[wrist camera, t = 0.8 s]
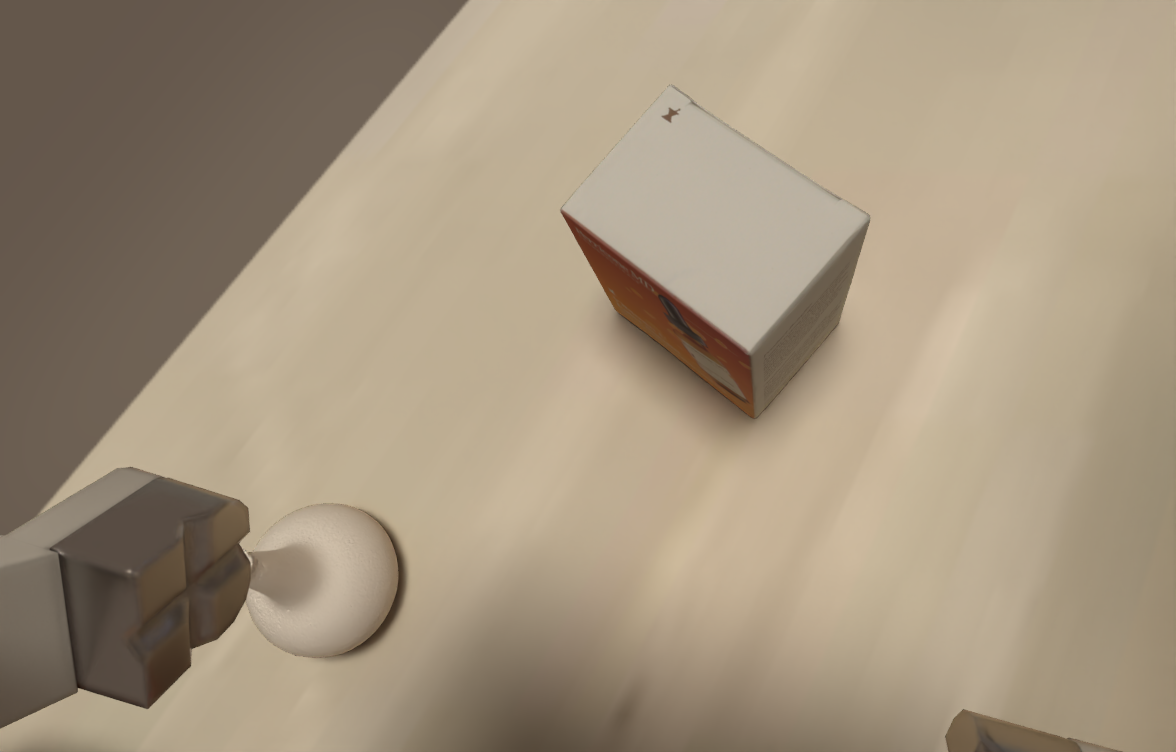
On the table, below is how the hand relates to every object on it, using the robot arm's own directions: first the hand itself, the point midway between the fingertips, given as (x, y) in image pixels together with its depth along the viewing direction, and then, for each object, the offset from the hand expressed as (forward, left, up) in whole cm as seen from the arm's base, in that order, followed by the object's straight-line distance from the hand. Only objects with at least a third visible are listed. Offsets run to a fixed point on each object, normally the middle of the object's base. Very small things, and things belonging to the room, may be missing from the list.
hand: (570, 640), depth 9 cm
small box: (-1, -11, -24) cm, 27 cm away
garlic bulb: (+16, 0, -24) cm, 29 cm away
